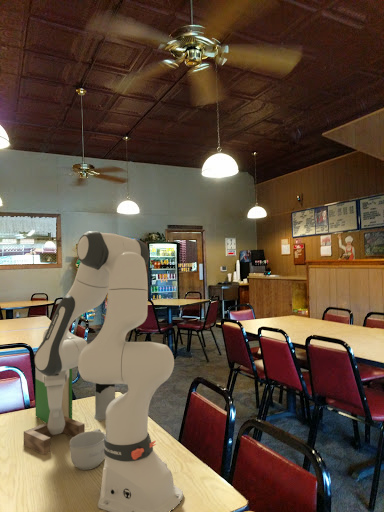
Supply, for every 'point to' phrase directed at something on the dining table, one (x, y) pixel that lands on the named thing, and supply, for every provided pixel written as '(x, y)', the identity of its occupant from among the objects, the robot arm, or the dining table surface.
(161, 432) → the dining table surface
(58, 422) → the salt shaker
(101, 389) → the tall mug
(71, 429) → the walnut holder
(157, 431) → the dining table surface
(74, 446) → the teacup
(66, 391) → the hardback book
